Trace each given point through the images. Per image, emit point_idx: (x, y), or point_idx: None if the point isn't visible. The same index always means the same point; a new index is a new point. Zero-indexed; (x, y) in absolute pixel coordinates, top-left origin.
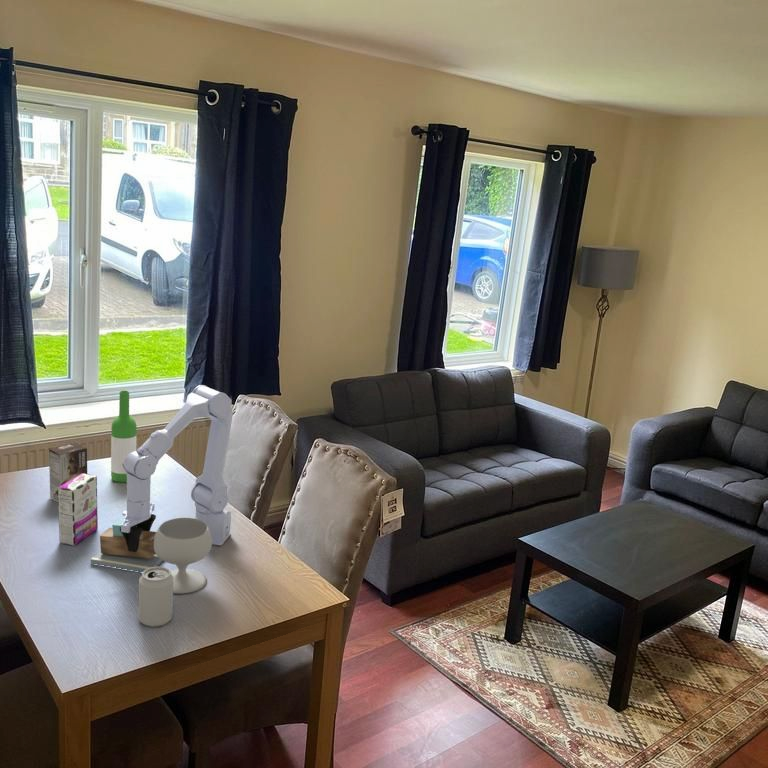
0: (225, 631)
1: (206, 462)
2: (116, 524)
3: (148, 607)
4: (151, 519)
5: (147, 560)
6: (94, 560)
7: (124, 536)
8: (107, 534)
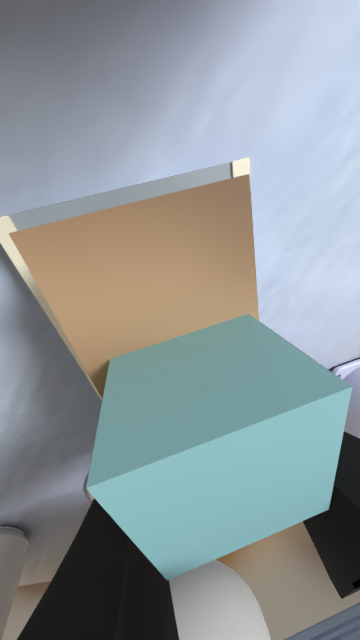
0: None
1: None
2: (141, 508)
3: None
4: (335, 579)
5: None
6: (6, 245)
7: (83, 528)
8: (97, 293)
